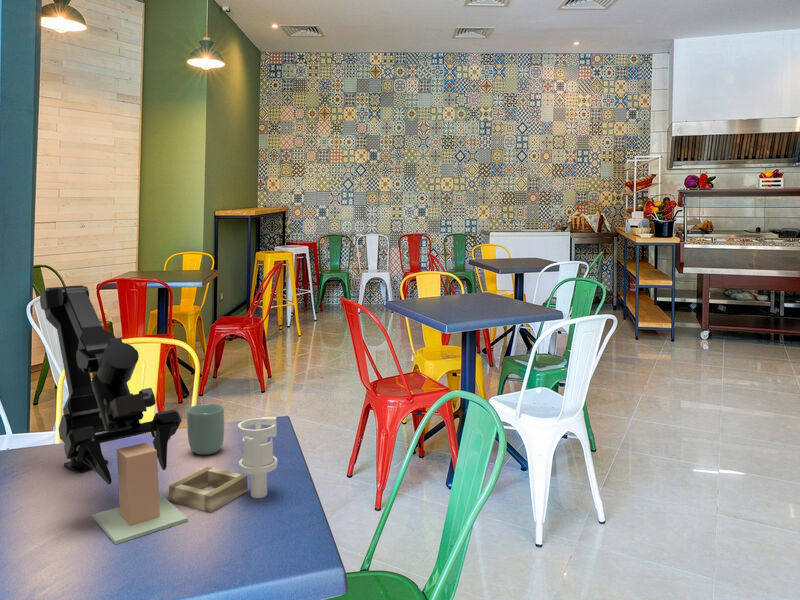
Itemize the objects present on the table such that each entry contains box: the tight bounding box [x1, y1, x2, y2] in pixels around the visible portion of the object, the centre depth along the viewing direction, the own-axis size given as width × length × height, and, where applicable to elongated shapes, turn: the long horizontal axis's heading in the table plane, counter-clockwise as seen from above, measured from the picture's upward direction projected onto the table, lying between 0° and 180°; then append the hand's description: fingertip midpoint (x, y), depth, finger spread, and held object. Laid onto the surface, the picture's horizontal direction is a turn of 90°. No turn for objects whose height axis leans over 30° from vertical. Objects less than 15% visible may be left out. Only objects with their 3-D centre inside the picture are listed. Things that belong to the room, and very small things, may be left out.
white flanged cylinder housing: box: [237, 416, 278, 499], centre depth 118 cm, size 7×7×15 cm
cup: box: [186, 403, 225, 456], centre depth 140 cm, size 8×8×10 cm
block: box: [116, 442, 160, 526], centre depth 108 cm, size 5×5×12 cm
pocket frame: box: [168, 466, 249, 513], centre depth 118 cm, size 10×10×3 cm
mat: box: [92, 494, 189, 545], centre depth 109 cm, size 12×12×1 cm
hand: (138, 475), depth 108 cm, fingers open, 9 cm apart
